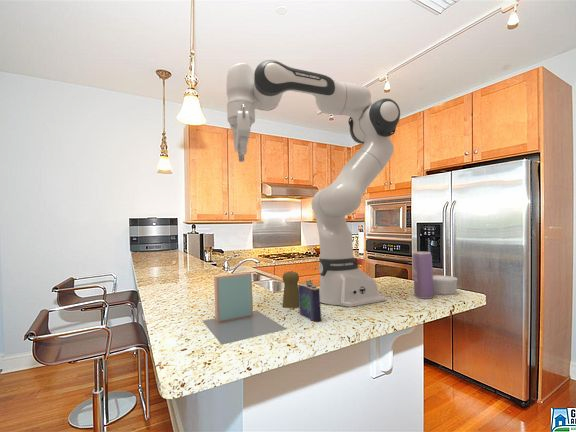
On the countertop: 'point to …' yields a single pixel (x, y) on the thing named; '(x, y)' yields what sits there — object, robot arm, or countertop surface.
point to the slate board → (243, 328)
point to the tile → (233, 296)
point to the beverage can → (423, 275)
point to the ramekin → (444, 284)
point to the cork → (291, 290)
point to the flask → (309, 301)
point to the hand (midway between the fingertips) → (242, 158)
